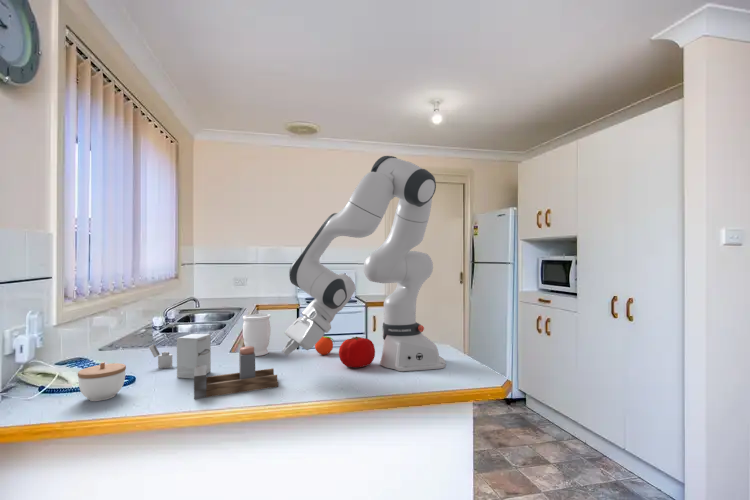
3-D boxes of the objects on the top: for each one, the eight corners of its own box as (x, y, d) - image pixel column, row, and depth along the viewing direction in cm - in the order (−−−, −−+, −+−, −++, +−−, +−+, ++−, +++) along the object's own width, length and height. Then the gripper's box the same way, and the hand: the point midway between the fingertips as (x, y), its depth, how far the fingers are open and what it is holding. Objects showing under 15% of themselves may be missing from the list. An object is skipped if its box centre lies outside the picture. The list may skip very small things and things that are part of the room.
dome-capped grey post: (253, 376, 116) (253, 345, 116) (255, 381, 111) (255, 349, 111) (239, 378, 114) (239, 346, 114) (240, 383, 110) (240, 350, 110)
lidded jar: (75, 397, 105) (75, 363, 105) (121, 387, 113) (121, 355, 113) (81, 408, 98) (81, 370, 98) (130, 396, 105) (130, 362, 105)
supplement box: (197, 379, 120) (196, 338, 120) (176, 378, 121) (175, 337, 121) (211, 372, 127) (211, 333, 127) (191, 371, 128) (191, 333, 129)
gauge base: (272, 377, 121) (272, 357, 121) (278, 386, 111) (277, 365, 111) (195, 387, 112) (195, 366, 112) (194, 398, 103) (193, 376, 103)
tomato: (380, 368, 129) (379, 337, 129) (343, 372, 124) (343, 340, 124) (368, 359, 139) (368, 331, 139) (334, 364, 134) (333, 334, 134)
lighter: (172, 366, 134) (172, 343, 135) (170, 367, 133) (170, 344, 133) (151, 367, 134) (151, 344, 134) (148, 368, 132) (148, 345, 132)
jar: (266, 357, 144) (265, 317, 145) (238, 357, 145) (238, 317, 145) (274, 350, 155) (273, 313, 155) (248, 350, 155) (248, 313, 156)
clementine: (338, 352, 150) (338, 334, 150) (331, 357, 143) (331, 338, 143) (319, 351, 152) (319, 333, 152) (312, 356, 145) (311, 337, 145)
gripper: (299, 308, 128) (269, 340, 123) (318, 315, 110) (284, 353, 105) (312, 320, 130) (284, 353, 125) (333, 329, 111) (300, 368, 107)
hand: (284, 353), depth 115 cm, fingers closed
